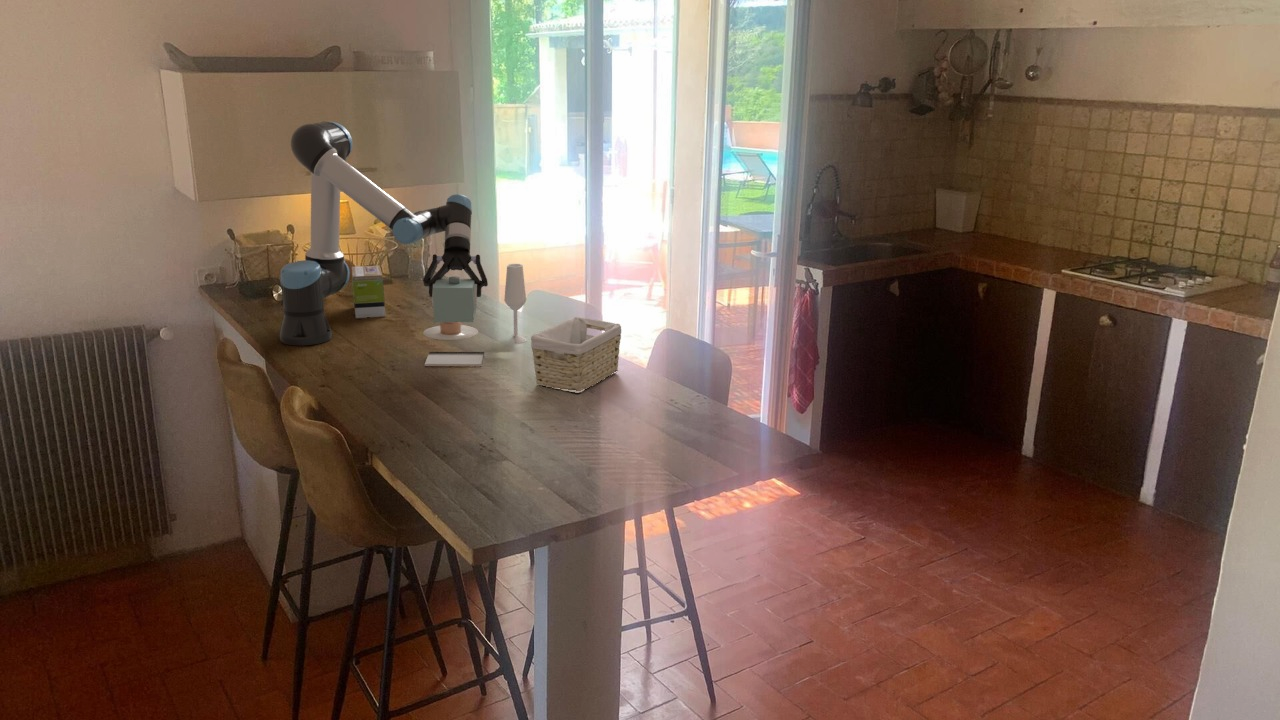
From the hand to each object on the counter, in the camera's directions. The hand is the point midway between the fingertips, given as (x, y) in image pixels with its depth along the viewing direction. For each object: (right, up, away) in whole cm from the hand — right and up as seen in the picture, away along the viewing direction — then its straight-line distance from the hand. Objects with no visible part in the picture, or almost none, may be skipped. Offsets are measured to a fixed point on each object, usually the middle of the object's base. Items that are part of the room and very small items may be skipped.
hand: (454, 305), depth 271 cm
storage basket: (+36, -21, -7) cm, 42 cm away
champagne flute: (+14, -9, +27) cm, 32 cm away
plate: (-7, -8, +28) cm, 30 cm away
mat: (-1, -15, +8) cm, 17 cm away
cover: (0, -3, +3) cm, 4 cm away
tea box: (-40, +1, +53) cm, 66 cm away
